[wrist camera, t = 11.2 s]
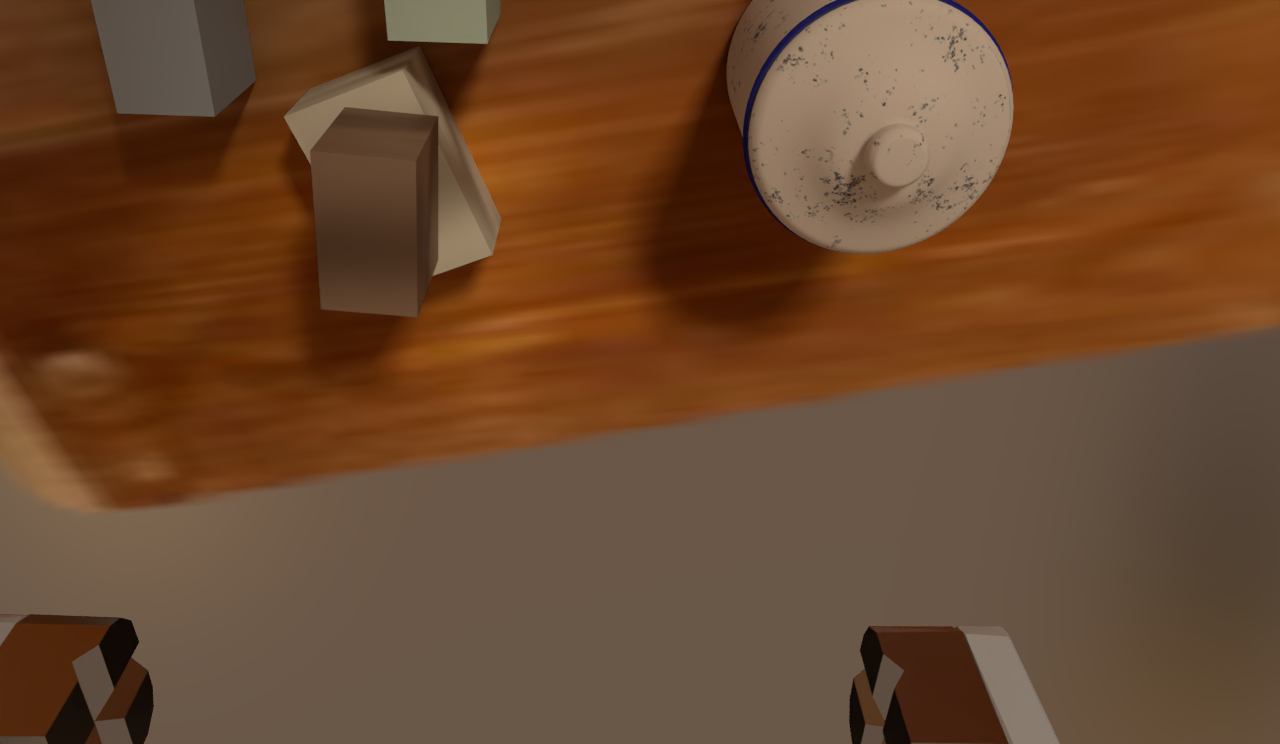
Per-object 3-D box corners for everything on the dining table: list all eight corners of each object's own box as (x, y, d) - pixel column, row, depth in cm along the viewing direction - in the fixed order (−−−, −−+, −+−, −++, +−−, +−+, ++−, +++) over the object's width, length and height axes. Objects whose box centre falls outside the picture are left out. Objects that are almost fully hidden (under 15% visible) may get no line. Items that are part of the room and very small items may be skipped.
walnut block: (344, 107, 37) (310, 151, 33) (438, 116, 37) (416, 161, 33) (352, 252, 40) (321, 309, 36) (438, 259, 41) (417, 317, 36)
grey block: (136, -85, 37) (75, -65, 33) (231, -81, 37) (182, -61, 33) (169, 76, 40) (117, 113, 36) (256, 79, 40) (215, 116, 36)
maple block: (311, 87, 41) (283, 116, 37) (420, 44, 40) (402, 70, 37) (400, 253, 45) (383, 293, 41) (501, 217, 44) (492, 254, 41)
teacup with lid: (934, 159, 43) (1032, 278, 33) (725, 181, 43) (760, 305, 33) (952, -152, 36) (1080, -121, 27) (707, -123, 37) (744, -83, 27)
